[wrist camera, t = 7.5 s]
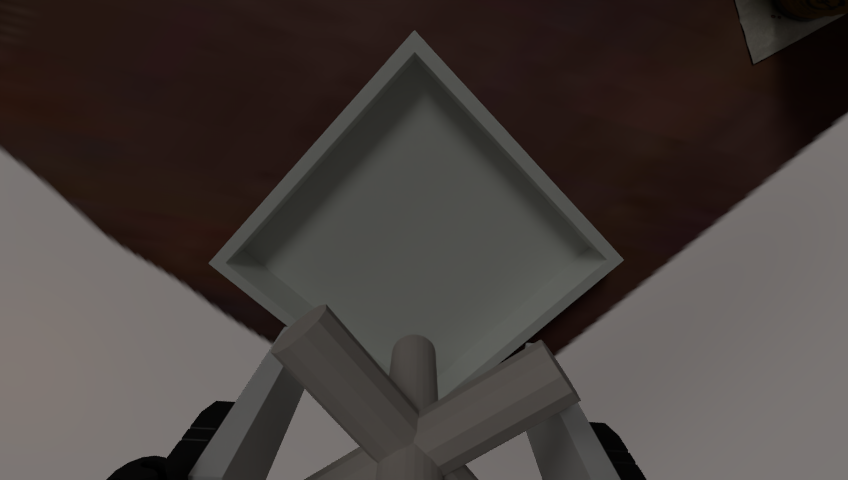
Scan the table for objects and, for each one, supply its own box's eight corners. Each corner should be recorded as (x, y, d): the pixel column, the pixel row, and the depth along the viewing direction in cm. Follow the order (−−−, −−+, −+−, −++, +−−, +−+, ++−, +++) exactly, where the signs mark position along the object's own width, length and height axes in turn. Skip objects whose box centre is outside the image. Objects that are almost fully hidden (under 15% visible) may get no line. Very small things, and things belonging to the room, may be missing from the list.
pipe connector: (577, 377, 17) (785, 723, 7) (390, 482, 18) (355, 878, 9) (444, 187, 14) (490, 324, 5) (242, 328, 16) (-27, 642, 6)
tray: (415, 41, 26) (414, 30, 22) (601, 244, 30) (623, 260, 27) (232, 247, 30) (208, 263, 26) (419, 399, 34) (418, 429, 31)
